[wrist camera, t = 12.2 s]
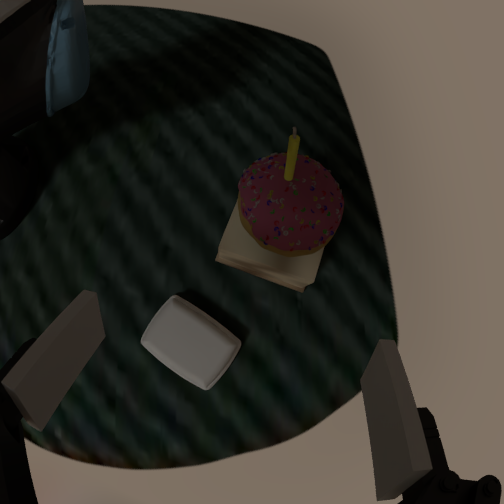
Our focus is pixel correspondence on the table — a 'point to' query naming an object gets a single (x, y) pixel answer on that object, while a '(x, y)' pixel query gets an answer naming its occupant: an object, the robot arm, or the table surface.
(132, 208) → the table surface
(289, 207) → the cupcake
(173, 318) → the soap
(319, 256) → the pedestal
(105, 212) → the table surface
